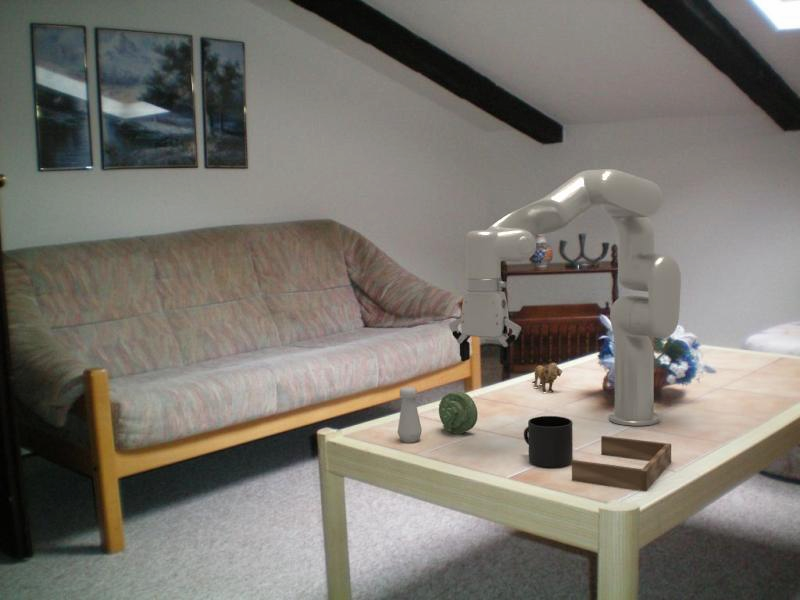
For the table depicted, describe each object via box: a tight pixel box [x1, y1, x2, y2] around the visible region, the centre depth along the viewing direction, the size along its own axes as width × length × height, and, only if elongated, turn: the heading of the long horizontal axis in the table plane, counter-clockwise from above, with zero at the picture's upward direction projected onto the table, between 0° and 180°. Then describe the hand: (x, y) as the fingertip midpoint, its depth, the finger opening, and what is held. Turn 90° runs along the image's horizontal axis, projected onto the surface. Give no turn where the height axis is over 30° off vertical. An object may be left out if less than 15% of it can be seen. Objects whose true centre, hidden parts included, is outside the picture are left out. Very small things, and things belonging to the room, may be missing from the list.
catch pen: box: [571, 435, 672, 492], centre depth 181 cm, size 20×15×4 cm
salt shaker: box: [397, 386, 423, 444], centre depth 208 cm, size 6×6×13 cm
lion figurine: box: [531, 362, 563, 393], centre depth 255 cm, size 15×5×9 cm, turn 20°
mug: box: [523, 415, 574, 469], centre depth 189 cm, size 9×12×9 cm
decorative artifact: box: [438, 391, 478, 435], centre depth 212 cm, size 10×7×10 cm
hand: (484, 361), depth 195 cm, fingers open, 9 cm apart
